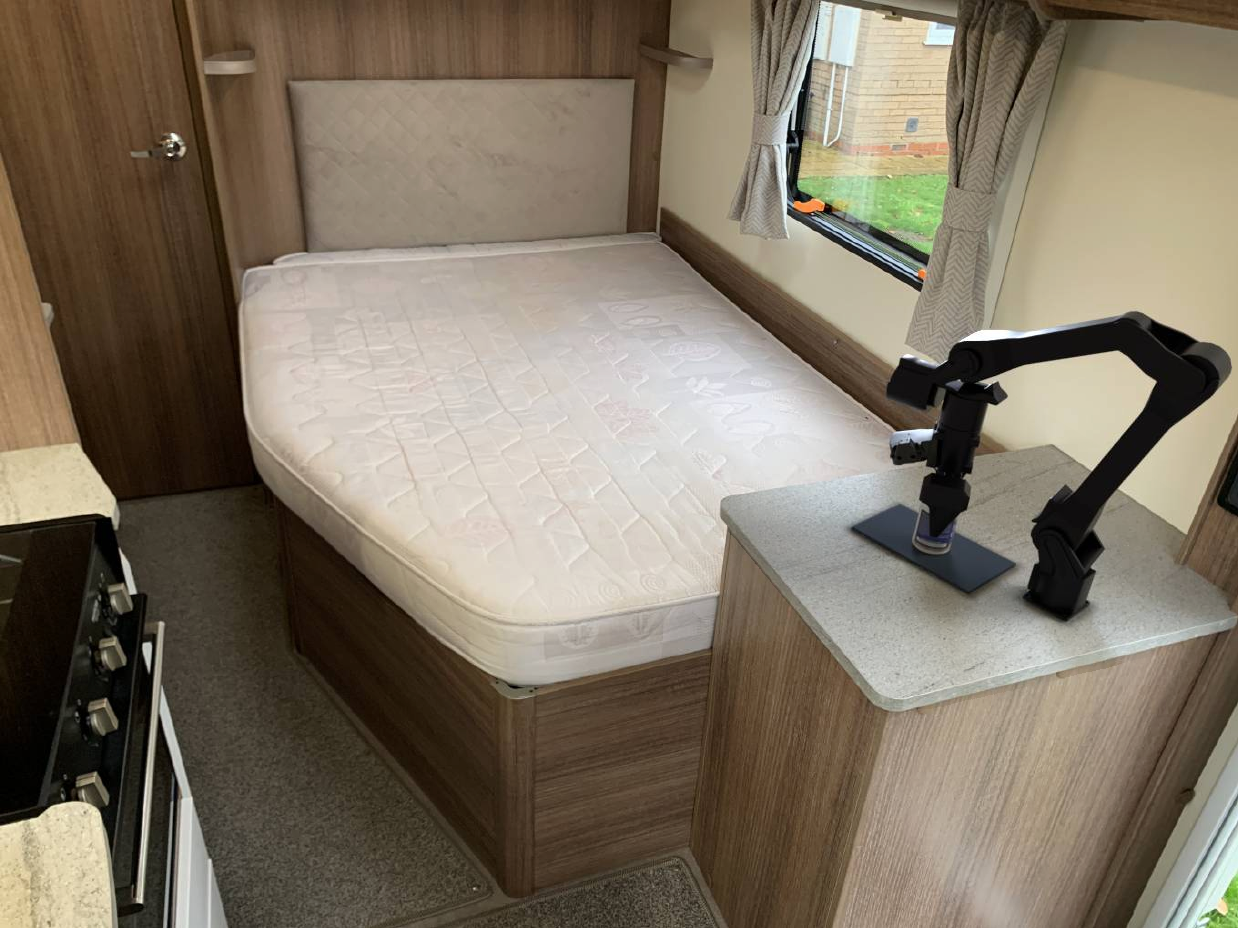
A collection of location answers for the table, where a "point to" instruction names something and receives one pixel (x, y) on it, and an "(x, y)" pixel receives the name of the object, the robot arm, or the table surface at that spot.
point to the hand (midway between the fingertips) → (935, 520)
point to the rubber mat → (957, 567)
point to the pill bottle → (925, 540)
